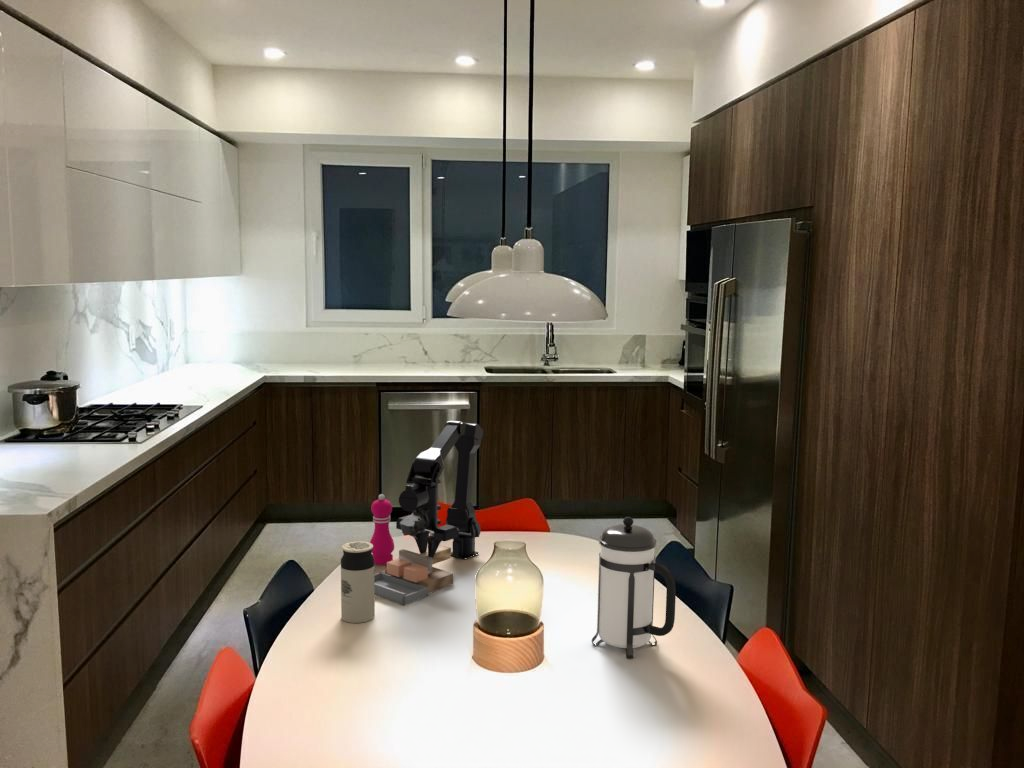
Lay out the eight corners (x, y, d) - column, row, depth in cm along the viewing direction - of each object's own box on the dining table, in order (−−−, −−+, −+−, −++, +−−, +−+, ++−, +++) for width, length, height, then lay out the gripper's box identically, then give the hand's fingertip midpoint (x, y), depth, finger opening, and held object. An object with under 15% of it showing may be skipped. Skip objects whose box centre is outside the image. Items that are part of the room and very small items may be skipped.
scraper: (433, 553, 248) (433, 539, 247) (462, 561, 241) (462, 547, 241) (398, 564, 237) (398, 550, 237) (428, 573, 231) (428, 559, 230)
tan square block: (398, 568, 237) (398, 558, 237) (410, 572, 235) (410, 561, 234) (386, 573, 234) (386, 562, 234) (398, 577, 231) (398, 566, 231)
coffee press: (593, 660, 190) (597, 527, 186) (589, 630, 206) (592, 507, 202) (673, 662, 189) (678, 529, 186) (663, 632, 205) (667, 508, 201)
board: (411, 570, 245) (411, 560, 245) (453, 583, 235) (453, 573, 235) (385, 580, 237) (385, 569, 237) (427, 594, 227) (427, 583, 227)
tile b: (415, 574, 233) (415, 563, 233) (427, 578, 231) (427, 567, 230) (403, 578, 230) (403, 567, 230) (415, 582, 227) (415, 571, 227)
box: (381, 579, 238) (381, 569, 237) (428, 595, 226) (428, 584, 226) (356, 588, 231) (355, 577, 230) (403, 605, 219) (403, 594, 219)
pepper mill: (366, 559, 254) (365, 492, 252) (390, 556, 257) (390, 490, 255) (373, 566, 248) (372, 498, 245) (397, 563, 251) (397, 496, 248)
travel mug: (366, 608, 217) (366, 538, 215) (379, 619, 210) (379, 547, 208) (336, 615, 213) (335, 544, 210) (348, 626, 206) (348, 553, 204)
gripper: (381, 502, 235) (381, 558, 237) (431, 515, 224) (431, 573, 226) (410, 494, 244) (410, 548, 246) (460, 506, 232) (460, 562, 234)
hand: (427, 558), depth 238 cm, fingers closed on scraper, 2 cm apart
